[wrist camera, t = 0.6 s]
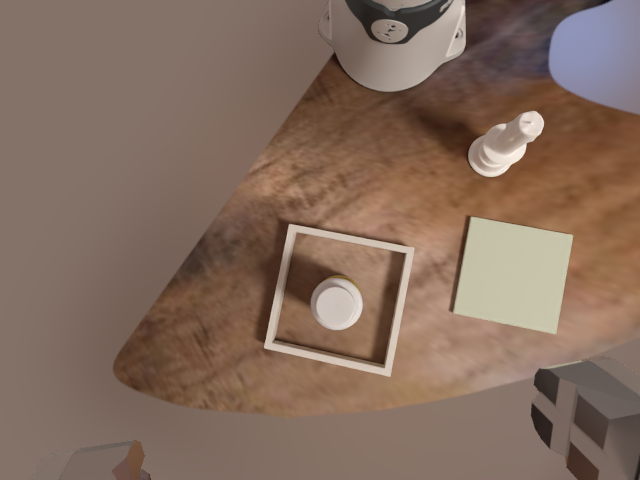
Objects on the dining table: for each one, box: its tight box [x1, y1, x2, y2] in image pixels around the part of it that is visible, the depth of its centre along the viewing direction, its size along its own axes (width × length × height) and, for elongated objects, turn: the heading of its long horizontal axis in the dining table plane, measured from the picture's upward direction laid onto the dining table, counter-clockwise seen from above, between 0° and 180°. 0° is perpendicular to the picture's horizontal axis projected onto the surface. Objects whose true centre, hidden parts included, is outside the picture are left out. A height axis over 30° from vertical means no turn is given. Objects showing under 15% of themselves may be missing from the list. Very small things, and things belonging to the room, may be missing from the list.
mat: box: [453, 217, 573, 334], centre depth 47 cm, size 12×12×1 cm
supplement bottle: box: [311, 275, 363, 330], centre depth 44 cm, size 6×6×10 cm
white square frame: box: [264, 224, 415, 377], centre depth 48 cm, size 16×16×2 cm
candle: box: [468, 111, 544, 177], centre depth 42 cm, size 5×5×12 cm
